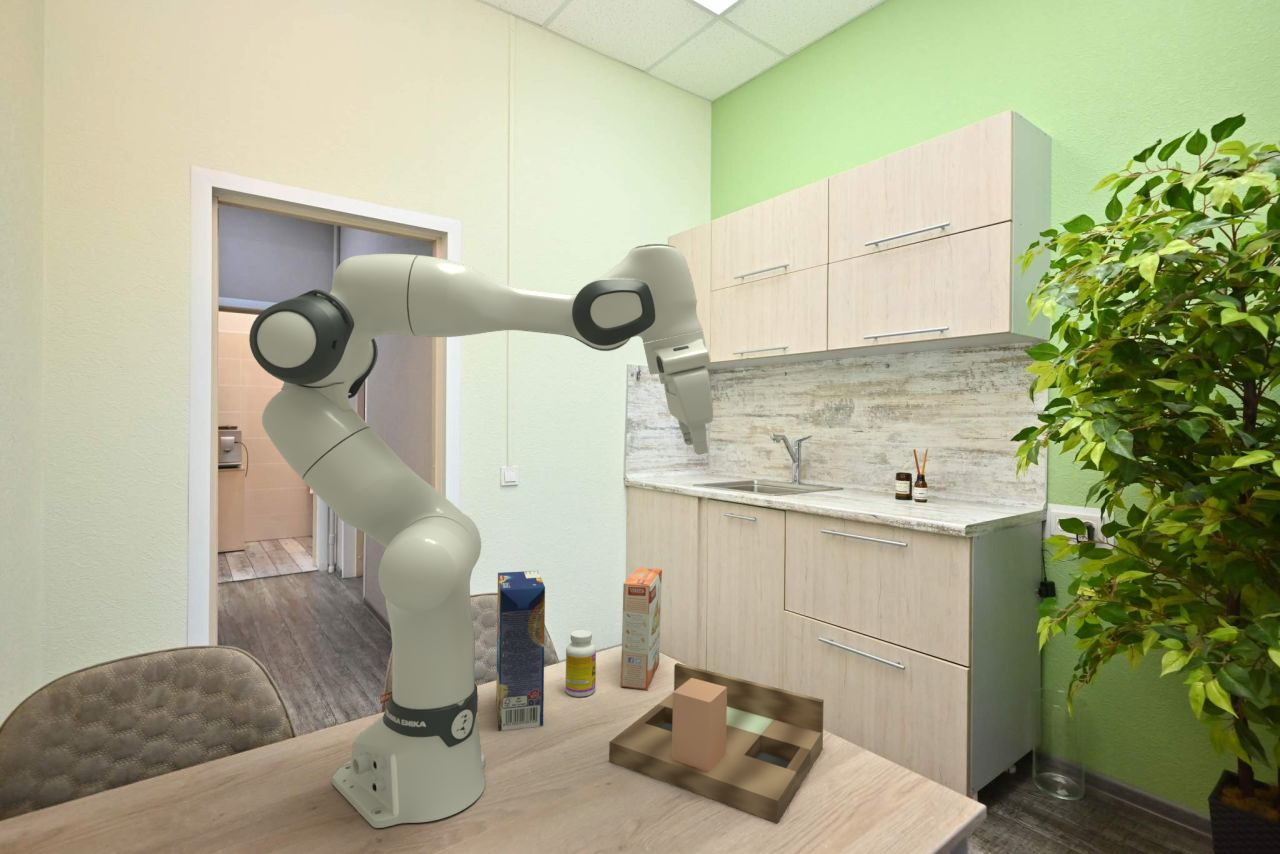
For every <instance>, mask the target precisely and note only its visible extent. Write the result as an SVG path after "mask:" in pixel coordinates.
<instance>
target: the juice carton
mask: <svg viewBox="0 0 1280 854" xmlns="http://www.w3.org/2000/svg"><path fill="white" fill-rule="evenodd" d="M496 607H497V614H496V615H497V617H496V618H497V621H496V626H497V629H496V693H495V695H496V696H495V697H496V698H495V699H496V711H497V722H498V731H499V732H502V731H510V730H512V731H513V730H518V729H519V730H521V729H528V728H537V727H544V704H545V703H544V699H545V697H544V695H545V694H544V693H545V692H544V691H545V690H544V689H545V688H544V687H545V623H546V622H545V621H546V620H545V619H546V618H545V615H546V614H545V613H546V587H545V584H544V581H543V579H542V576H541V575H540V573H539V570H528V571H527V570H526V571H523V570H522V571H508V572H507V571H505V572H497V606H496Z"/></svg>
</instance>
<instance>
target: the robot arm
mask: <svg viewBox="0 0 1280 854" xmlns="http://www.w3.org/2000/svg"><path fill="white" fill-rule="evenodd" d="M697 303H698V301H697V296H696V291H695V287H694V281H693V278H692V275H691V270H690V268H689V265H688V262H687V260H686V257H685V256H684V254H683V252H682V250H680V249H678V248H677V247H675V246H674V245H669V244H663V243H653V244H652V243H651V244H650V243H648V244H644V245H639V246H636V247H633V248H632V249H631V250H629V252H628V253H627V255H626V256H625V257H624V258H623V259H622V260H621V261H620V262H619V263H618V264H616V265H615V266H614V267H613V268H612V269H610V270H609V271H607V272H606V273H604V274H602V275H601V276H599V277H598V278H596V279H595V280H592V281H590V282H589V283H587V284H586V285H584V286H583V287H582V288H580V290H579V291H578V293H576V294H564V293H563V294H562V293H555V292H545V291H539V290H529V289H521V288H517V287H513V286H510V285H507V284H504V283H502V282H500V281H498V280H495V279H494V278H491V277H490V276H488V275H486V274H485V273H483V272H481V271H480V270H477V269H476V268H474V267H471V266H469V265H467V264H464V263H459V262H456V261H453V260H450V259H445V258H441V257H435V256H429V255H419V254H407V253H375V254H374V253H373V254H362V255H352V256H350V257H347V258H345V259H344V260H343V261H342V262H341V263H339V265H338V266H337V268H336V270H335V272H334V273H333V277H332V282H331V289H330V292H328V291H325V290H321V289H318V288H317V289H316V288H315V289H311V290H309V291H307V292H305V293H302V294H300V295H298V296H296V297H293V298H289V299H286V300H283V301H280V302H278V303H275V304H273V305H270V306H268V307H267V308H266V309H264V310H263V311H262V312H260V313H259V314H257V315H258V316H257V317H256V318H255V320H254V321H253V323H252V325H251V327H250V331H249V335H248V336H249V337H248V338H249V347H250V351H251V354H252V356H253V358H254V359H255V360H256V362H257V363H258V366H260V367H261V368H262V369H263V370H264V371H265V372H267V373H268V374H269V375H271V376H272V377H274V378H275V379H278V380H280V381H281V382H283V384H282V387H281V388H280V390H279V392H277V393H276V394H275V395H273V396H272V397H271V399H270V400H269V401H268V402H267V404H266V406H265V407H264V409H263V412H262V416H261V423H262V428H263V429H264V431H265V433H266V435H267V436H268V438H269V439H270V441H271V442H272V444H273V445H274V447H275V449H277V451H278V453H279V454H280V455H281V456H282V457H283V459H284V460H285V461H286V463H287V464H288V465H289V466H290V468H291V469H292V470H293V471H294V472H295V473H296V474H297V475H298V476H299V477H300V479H301V480H303V482H304V483H305V484H306V485H307V486H308V487H309V488H310V489H311V490H312V491H313V492H314V493H315V494H316V495H317V496H318V497H319V498H320V500H322V501H323V503H325V505H327V506H328V508H329V509H330V510H331V511H332V512H333V513H334V514H335V515H336V516H337V517H338V518H339V519H340V520H341V521H342V522H343V523H344V524H346V525H348V526H349V527H353V528H355V529H357V530H359V531H361V532H362V533H364V534H366V535H368V536H369V537H370V538H372V540H373V539H374V540H375V541H376V542H378V543H379V544H381V546H383V547H385V550H384V553H383V555H382V557H381V560H380V563H379V565H378V574H377V575H378V576H377V579H378V585H379V588H380V590H381V592H382V594H383V596H384V598H385V606H386V610H387V611H386V612H387V618H388V623H389V627H390V635H391V643H392V645H391V646H392V648H391V649H392V668H391V669H392V676H391V677H392V681H391V684H392V686H391V687H392V688H391V691H388V692H386V693H384V694H382V695H380V696H379V698H383V699H382V700H381V701H379V704H384V703H386V706H385V709H384V712H383V715H382V716H381V717H380V718H378V719H377V720H376V721H375V722H374V723H372V724H370V725H369V726H368V727H366V728H365V729H364V730H363V731H361V732H360V733H359V734H358V736H356V738H355V740H354V741H353V744H352V747H351V756H350V760H349V761H347V762H345V764H343V765H342V766H341V767H340V768H339V769H338V770H337V771H336V772H335V773H334V774H333V776H332V781H331V782H332V783H331V784H332V785H333V786H334V787H335V789H336V790H337V791H338V792H339V793H340V794H341V795H342V796H343V797H344V798H345V800H347V801H348V802H349V803H350V804H351V805H352V807H354V809H355V810H356V811H357V812H358V813H359V814H360V815H361V816H362V818H364V819H365V820H366V822H367V823H368V824H370V826H372V827H373V828H375V829H381V828H382V829H383V828H387V827H390V826H391V827H392V826H396V825H399V824H408V823H410V824H411V823H413V824H414V823H416V824H417V823H427V822H433V821H437V820H441V819H444V818H448V817H451V816H453V815H455V814H457V813H459V812H461V811H463V810H465V809H467V808H468V807H469V806H471V805H472V804H474V803H475V802H477V800H478V799H479V798H480V797H481V795H483V792H484V790H485V788H486V779H485V774H484V767H485V765H486V757H485V754H484V753H482V750H481V749H482V747H481V738H480V737H481V736H480V728H479V727H480V726H479V725H480V724H479V717H478V711H479V710H478V703H479V702H478V701H479V694H478V686H477V684H476V683H475V677H476V676H475V675H476V673H475V671H476V670H475V668H476V667H475V665H476V656H475V655H476V631H475V628H474V622H473V615H472V614H473V613H472V602H471V600H472V599H471V578H472V577H471V576H472V573H473V570H474V568H475V566H476V564H477V563H478V561H479V559H480V556H481V552H482V551H481V550H482V538H481V535H480V531H479V528H478V526H477V524H476V523H475V522H474V521H473V520H472V518H470V517H469V516H468V515H466V514H465V513H463V512H462V511H461V510H460V509H459V508H458V507H457V506H456V505H454V503H452V502H451V501H450V500H449V499H447V497H445V496H444V495H443V493H441V492H439V491H438V490H437V489H436V488H435V487H433V486H432V485H430V483H428V482H427V481H426V480H424V478H422V477H420V475H418V474H417V473H416V472H415V471H414V470H412V468H411V467H410V466H408V465H407V463H405V461H404V460H402V458H400V456H398V454H397V453H395V451H393V449H392V447H390V446H389V445H388V444H387V443H386V442H385V441H384V440H383V438H381V437H380V436H379V434H378V433H377V432H376V431H375V430H374V429H373V428H372V427H371V426H370V425H369V423H367V422H366V420H364V419H363V418H362V417H361V416H360V415H359V414H358V412H357V411H356V410H355V408H354V407H353V406H352V404H351V402H350V399H352V398H354V397H356V395H357V394H358V392H359V390H360V389H361V387H362V385H363V384H364V382H365V381H366V379H367V378H368V377H369V376H370V374H371V373H372V371H373V370H374V368H375V366H376V364H377V361H378V356H379V355H378V354H379V349H378V345H377V340H376V338H378V337H380V336H381V337H382V336H386V335H405V336H410V337H411V336H413V337H421V338H422V337H424V338H453V337H454V338H456V337H466V336H472V335H474V336H475V335H481V334H485V333H492V332H501V331H502V332H503V331H504V332H505V331H520V332H531V333H540V334H550V335H558V336H559V335H560V336H564V337H569V338H573V339H575V340H576V341H578V342H580V343H581V344H583V345H585V346H586V347H589V348H591V349H592V350H597V351H602V352H610V351H614V350H615V351H616V350H618V349H620V348H622V347H624V346H625V345H626V344H627V343H628V342H629V341H631V338H635V337H640V339H642V343H643V344H642V345H643V347H644V354H645V358H646V362H647V368H648V372H649V374H650V375H658V378H659V383H660V384H661V385H663V388H664V392H665V398H666V403H667V407H668V411H669V413H670V415H672V416H673V417H675V419H677V422H678V425H679V429H680V431H681V434H682V437H683V443H684V444H686V446H691V445H692V446H693V451H694V453H695V454H696V455H698V456H699V455H700V456H701V455H705V454H707V453H708V452H709V446H708V443H707V426H706V424H710V423H712V422H713V419H714V408H713V399H712V398H713V397H712V391H711V381H710V375H709V371H708V368H707V367H708V366H710V365H711V358H710V353H709V350H708V348H707V345H706V340H705V335H704V330H703V326H702V324H701V323H700V322H701V321H700V320H699V318H698V314H697Z"/></svg>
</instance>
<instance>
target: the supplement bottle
mask: <svg viewBox="0 0 1280 854" xmlns="http://www.w3.org/2000/svg"><path fill="white" fill-rule="evenodd" d="M592 639H593V633H592V632H591V631H590V630H586V629H577V630H574V631H571V633H570V641H571V642H570V643H569V644H568V645H567V646H566V648H565V682H564V683H565V685H564V686H565V692H566V693H567V694H568V695H570V696H572V697H578V698H581V697H587V696H591V695H592V694H593V693H595V691H596V683H597V682H596V681H597V680H596V677H597V676H596V672H597V670H596V669H597V648H596V646H595V644H594V643H592Z"/></svg>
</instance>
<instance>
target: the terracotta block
mask: <svg viewBox="0 0 1280 854" xmlns="http://www.w3.org/2000/svg"><path fill="white" fill-rule="evenodd" d="M672 693H673V722H672V760H675V761H678V762H681V763H684V764H687V765H690V766H692V767H695V768H698V769H701V770H704V771H707V772H709V771H710V770H711V769H712V768H713V767H714V766H715V765H716V764H717V762H718V761H719V760H720V759H721V758H722V757H723V756H724V755H725V753H726V721H727V687H725V686H721V685H717V684H713V683H709V682H706V681H702V680H698V679H694V678H691V679H689V680H688V681H687V682H685V683H684V684H683V685H682V686H680V687H679V688H678V689H676V690H675V691H674V690H673V691H672Z"/></svg>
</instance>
